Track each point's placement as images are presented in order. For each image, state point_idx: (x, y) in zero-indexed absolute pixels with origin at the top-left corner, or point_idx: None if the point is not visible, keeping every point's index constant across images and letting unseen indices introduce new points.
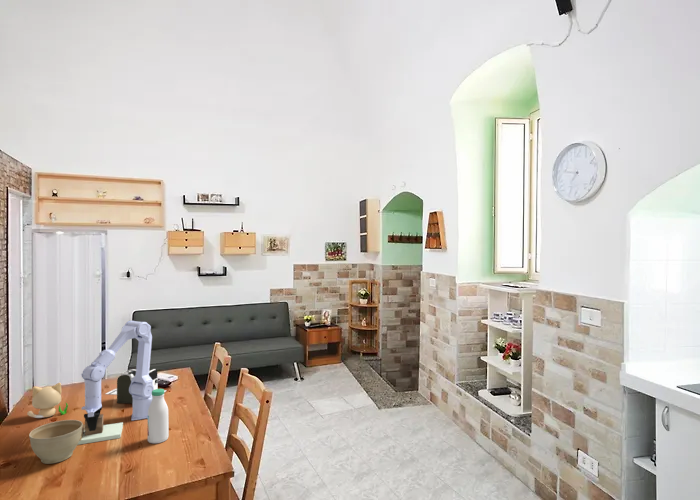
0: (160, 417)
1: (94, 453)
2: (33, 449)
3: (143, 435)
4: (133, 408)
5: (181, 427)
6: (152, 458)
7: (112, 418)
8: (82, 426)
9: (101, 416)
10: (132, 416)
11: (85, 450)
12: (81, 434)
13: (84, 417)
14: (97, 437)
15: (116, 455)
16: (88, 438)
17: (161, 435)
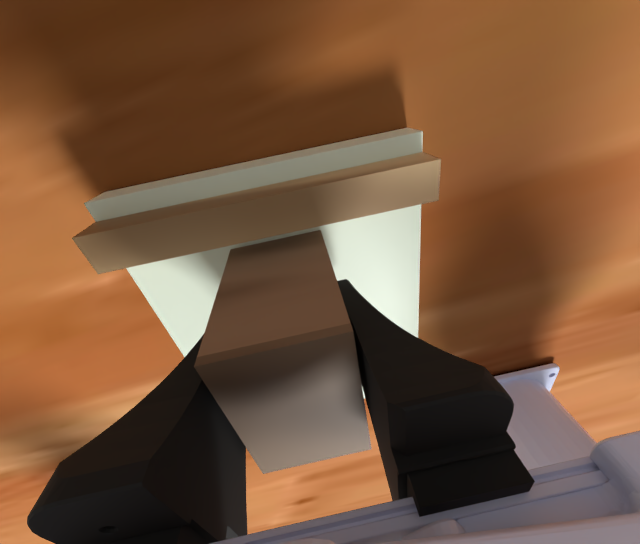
0: None
1: (4, 371)
2: None
3: (253, 464)
4: (529, 441)
5: (307, 517)
6: (31, 534)
7: (572, 282)
8: (383, 187)
9: (297, 461)
10: (509, 380)
11: (32, 310)
12: (154, 260)
13: (54, 475)
14: (184, 346)
15: (16, 454)
16: (164, 298)
17: None
